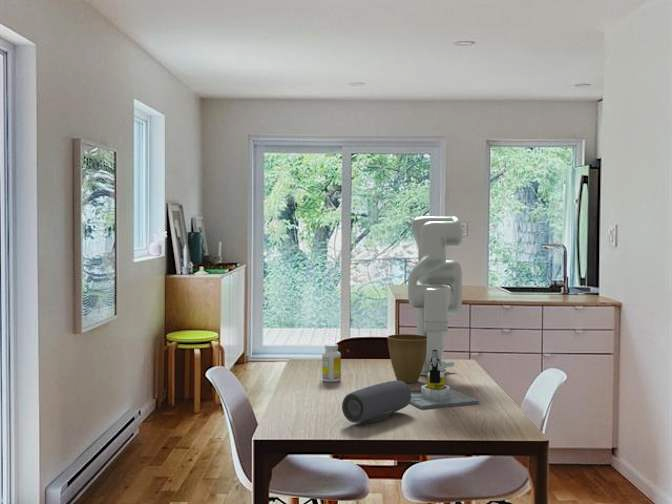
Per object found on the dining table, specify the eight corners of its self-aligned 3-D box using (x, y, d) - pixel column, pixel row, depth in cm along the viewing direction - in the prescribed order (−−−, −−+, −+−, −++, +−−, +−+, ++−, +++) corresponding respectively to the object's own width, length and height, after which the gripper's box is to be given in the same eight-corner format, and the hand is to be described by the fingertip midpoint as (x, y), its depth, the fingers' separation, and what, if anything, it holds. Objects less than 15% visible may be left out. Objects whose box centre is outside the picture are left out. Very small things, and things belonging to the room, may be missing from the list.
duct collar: (448, 390, 263) (448, 378, 263) (479, 403, 244) (479, 390, 244) (394, 395, 256) (394, 383, 256) (421, 409, 237) (421, 396, 237)
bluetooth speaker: (387, 409, 237) (387, 376, 237) (412, 414, 232) (412, 380, 231) (340, 424, 220) (339, 389, 220) (366, 430, 214) (366, 393, 214)
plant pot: (415, 387, 268) (415, 341, 268) (379, 382, 277) (379, 337, 277) (436, 380, 280) (437, 335, 279) (401, 375, 289) (401, 332, 288)
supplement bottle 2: (434, 398, 246) (434, 368, 246) (423, 395, 251) (423, 365, 251) (447, 396, 249) (447, 366, 249) (436, 393, 254) (437, 363, 254)
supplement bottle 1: (341, 378, 283) (341, 343, 283) (340, 382, 277) (340, 346, 276) (323, 378, 284) (323, 343, 284) (321, 382, 277) (321, 346, 277)
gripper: (425, 322, 258) (425, 374, 259) (422, 330, 241) (422, 385, 242) (448, 323, 257) (448, 375, 258) (446, 330, 240) (446, 386, 241)
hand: (435, 379), depth 250 cm, fingers open, 9 cm apart
